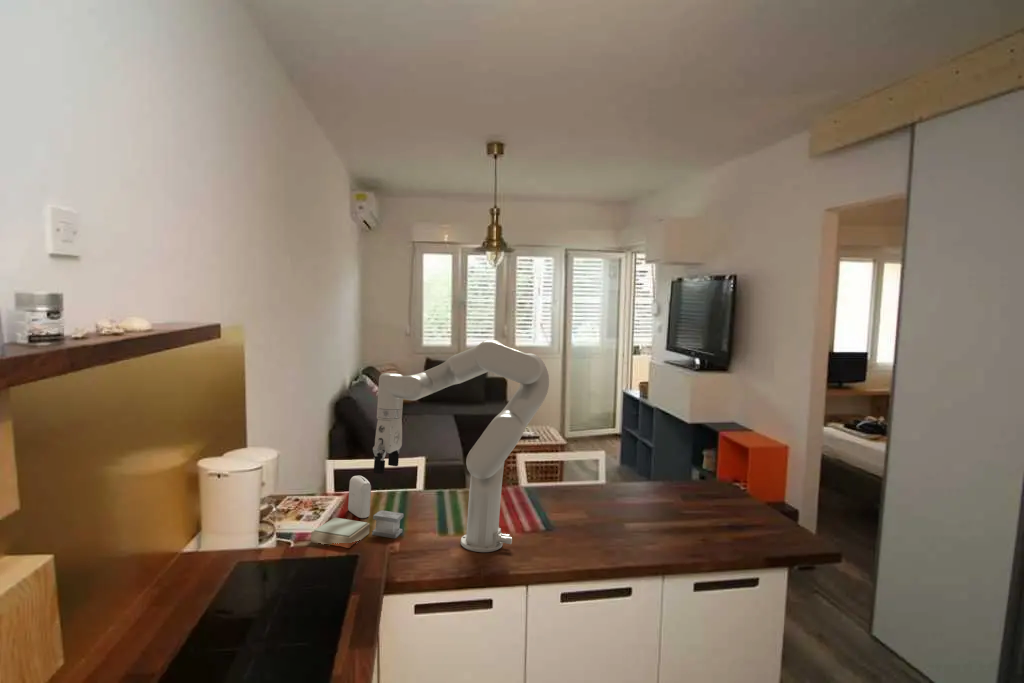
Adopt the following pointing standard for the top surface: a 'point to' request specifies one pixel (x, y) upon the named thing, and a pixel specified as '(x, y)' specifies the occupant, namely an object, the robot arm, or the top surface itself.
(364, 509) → the photo printer
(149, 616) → the top surface
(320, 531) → the pale green flat tray
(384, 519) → the steel housing
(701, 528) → the top surface
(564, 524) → the top surface
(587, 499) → the top surface
